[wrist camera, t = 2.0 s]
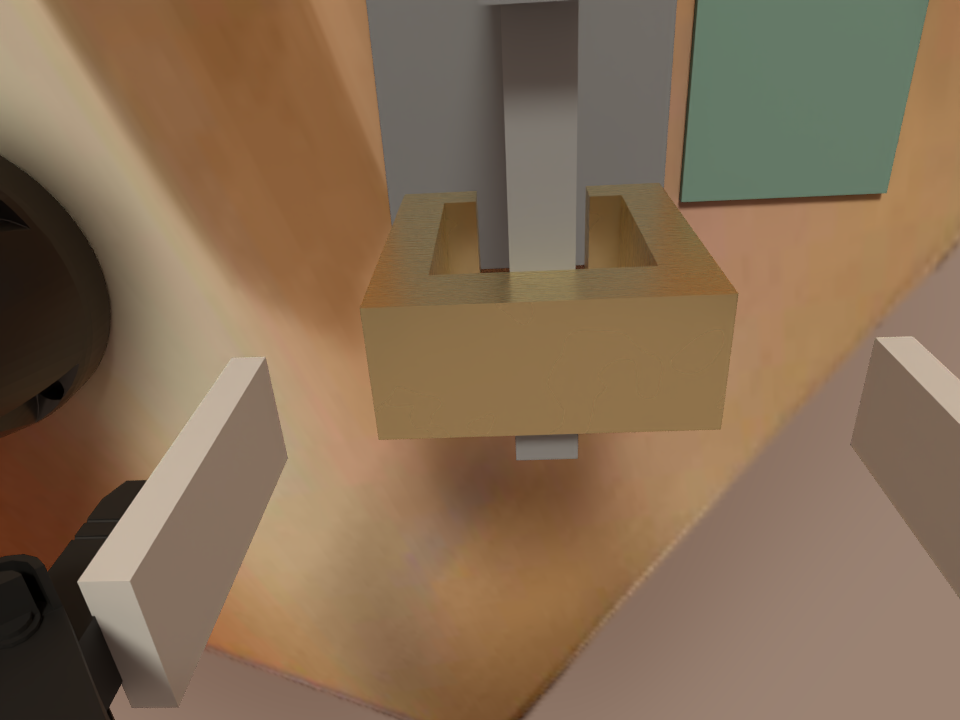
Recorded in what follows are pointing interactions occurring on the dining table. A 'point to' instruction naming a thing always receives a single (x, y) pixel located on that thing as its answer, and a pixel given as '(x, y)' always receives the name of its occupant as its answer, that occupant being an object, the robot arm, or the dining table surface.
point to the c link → (548, 326)
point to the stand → (523, 119)
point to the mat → (796, 96)
